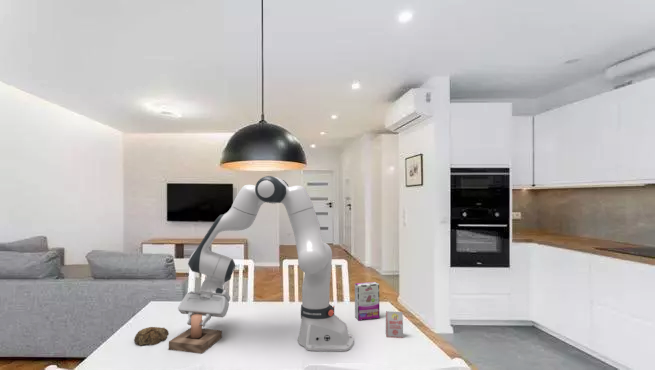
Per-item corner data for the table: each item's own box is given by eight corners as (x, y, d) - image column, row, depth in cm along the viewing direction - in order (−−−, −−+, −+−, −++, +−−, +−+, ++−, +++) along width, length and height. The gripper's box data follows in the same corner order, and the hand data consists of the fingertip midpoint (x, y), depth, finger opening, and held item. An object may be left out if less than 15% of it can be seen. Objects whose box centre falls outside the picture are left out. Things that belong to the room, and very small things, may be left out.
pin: (203, 334, 133) (204, 314, 133) (197, 338, 129) (198, 318, 129) (194, 333, 134) (195, 313, 134) (188, 337, 130) (189, 317, 130)
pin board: (221, 337, 137) (221, 330, 137) (202, 353, 123) (202, 345, 123) (191, 334, 139) (191, 327, 140) (168, 349, 126) (168, 341, 126)
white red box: (385, 333, 142) (385, 309, 142) (401, 334, 142) (401, 310, 142) (386, 337, 138) (386, 312, 139) (403, 338, 138) (403, 313, 138)
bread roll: (136, 335, 139) (137, 323, 139) (169, 331, 143) (169, 320, 143) (130, 349, 127) (131, 335, 127) (166, 344, 131) (167, 331, 131)
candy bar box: (375, 315, 164) (375, 281, 165) (379, 318, 159) (379, 284, 160) (354, 317, 161) (354, 282, 162) (358, 321, 156) (358, 285, 157)
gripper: (184, 287, 141) (168, 319, 131) (229, 290, 137) (215, 323, 127) (190, 295, 145) (175, 326, 135) (234, 298, 141) (221, 331, 131)
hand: (195, 325), depth 131 cm, fingers closed on pin, 4 cm apart
